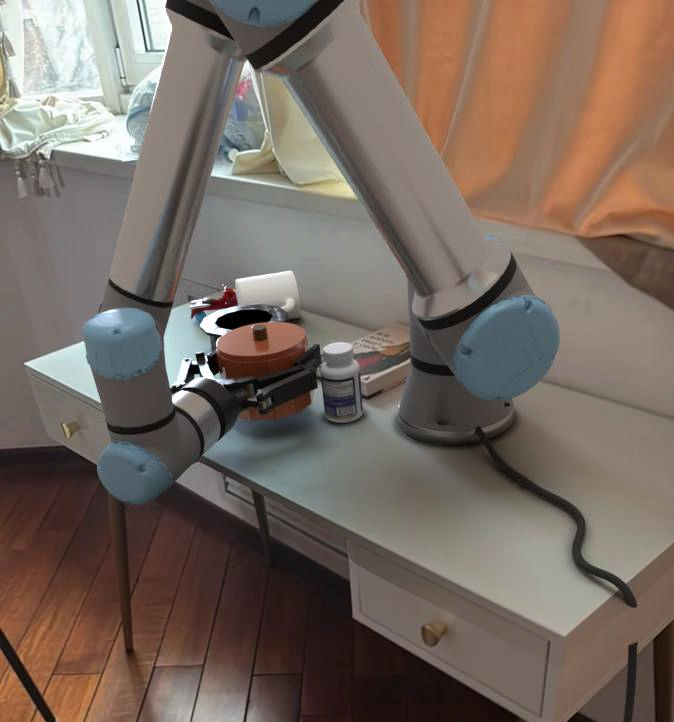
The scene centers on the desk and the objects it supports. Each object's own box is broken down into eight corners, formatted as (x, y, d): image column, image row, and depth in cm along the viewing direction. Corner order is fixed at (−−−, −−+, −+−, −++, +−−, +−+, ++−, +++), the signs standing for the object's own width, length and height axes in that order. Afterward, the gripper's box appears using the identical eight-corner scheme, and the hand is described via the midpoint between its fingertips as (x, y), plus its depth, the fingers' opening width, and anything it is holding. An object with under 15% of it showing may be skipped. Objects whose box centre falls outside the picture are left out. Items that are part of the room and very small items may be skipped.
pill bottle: (339, 404, 122) (333, 337, 116) (370, 411, 119) (366, 343, 113) (317, 419, 118) (310, 351, 112) (349, 426, 116) (343, 357, 110)
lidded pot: (326, 405, 115) (318, 329, 109) (244, 428, 112) (230, 351, 106) (293, 376, 124) (284, 304, 118) (216, 397, 121) (202, 324, 115)
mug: (239, 318, 154) (232, 273, 149) (293, 309, 155) (288, 264, 150) (250, 341, 145) (243, 294, 140) (307, 331, 146) (302, 285, 141)
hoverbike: (258, 320, 153) (253, 289, 149) (191, 328, 152) (185, 296, 149) (257, 310, 157) (253, 279, 153) (192, 318, 156) (187, 287, 153)
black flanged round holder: (304, 355, 138) (300, 321, 134) (222, 376, 134) (216, 342, 130) (273, 330, 148) (268, 298, 145) (196, 348, 144) (190, 316, 141)
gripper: (119, 436, 109) (204, 369, 124) (290, 458, 100) (359, 383, 115) (104, 381, 104) (193, 318, 119) (282, 398, 95) (355, 328, 110)
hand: (275, 350), depth 117 cm, fingers closed on lidded pot, 12 cm apart
